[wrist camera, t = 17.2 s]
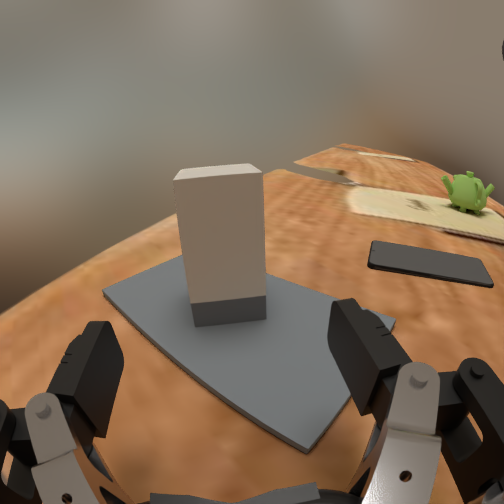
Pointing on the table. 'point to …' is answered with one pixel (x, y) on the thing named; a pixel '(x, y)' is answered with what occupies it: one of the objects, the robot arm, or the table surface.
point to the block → (223, 242)
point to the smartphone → (428, 264)
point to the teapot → (467, 192)
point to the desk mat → (247, 350)
